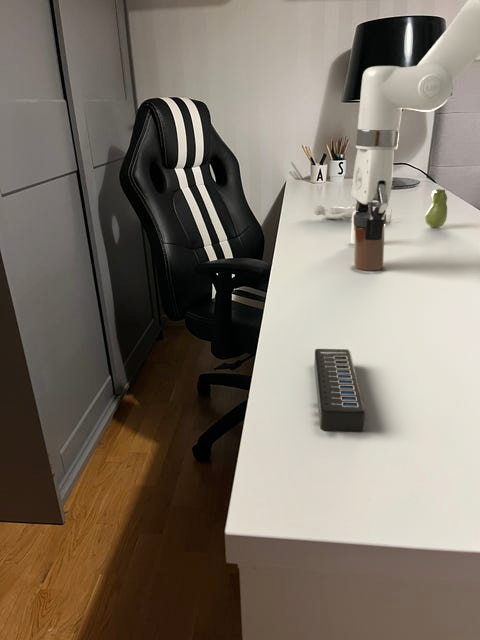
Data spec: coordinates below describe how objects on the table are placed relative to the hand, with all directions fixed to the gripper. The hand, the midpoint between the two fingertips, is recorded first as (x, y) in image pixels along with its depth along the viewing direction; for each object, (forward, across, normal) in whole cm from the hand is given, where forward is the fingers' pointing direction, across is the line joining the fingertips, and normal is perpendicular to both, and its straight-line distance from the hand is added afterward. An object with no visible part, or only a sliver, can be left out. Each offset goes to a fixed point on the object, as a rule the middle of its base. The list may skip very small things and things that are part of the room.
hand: (367, 234), depth 100 cm
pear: (+7, -32, +30) cm, 45 cm away
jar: (+7, 0, +1) cm, 7 cm away
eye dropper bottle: (+7, -18, +6) cm, 20 cm away
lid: (-4, 0, 0) cm, 4 cm away
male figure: (+7, -46, +11) cm, 48 cm away
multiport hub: (+7, +48, -18) cm, 52 cm away
